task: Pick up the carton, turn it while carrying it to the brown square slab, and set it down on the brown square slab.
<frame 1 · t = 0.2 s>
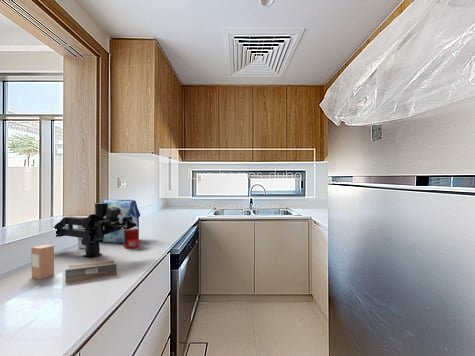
hand: (128, 226, 139), 17 cm above the worktop, tool horizontal, fingers open, 9 cm apart
canned food: (131, 247, 168), on the worktop
lunch bag: (119, 241, 185), on the worktop
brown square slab: (92, 271, 124), on the worktop
carton: (43, 276, 119), on the worktop
syrup box: (85, 247, 169), on the worktop
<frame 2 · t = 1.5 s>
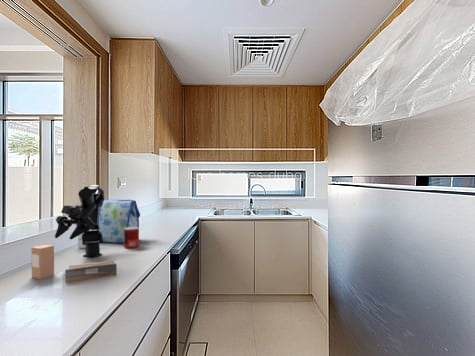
hand: (62, 238, 126), 14 cm above the worktop, tool tilted 45°, fingers open, 9 cm apart
nothing on the worktop moved.
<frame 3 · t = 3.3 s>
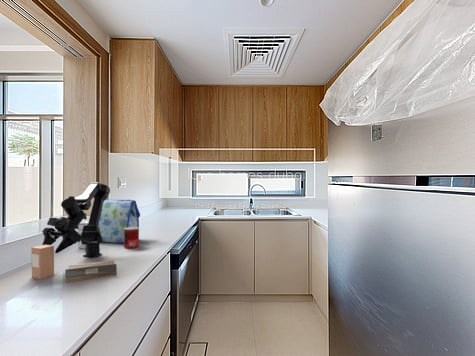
hand: (48, 251, 121), 9 cm above the worktop, tool tilted 45°, fingers open, 9 cm apart
nothing on the worktop moved.
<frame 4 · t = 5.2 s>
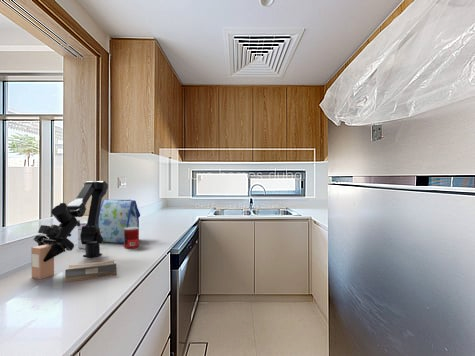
hand: (39, 260, 118), 7 cm above the worktop, tool tilted 45°, fingers closed on carton, 5 cm apart
carton: (43, 276, 119), on the worktop, touching gripper
everything else where it was.
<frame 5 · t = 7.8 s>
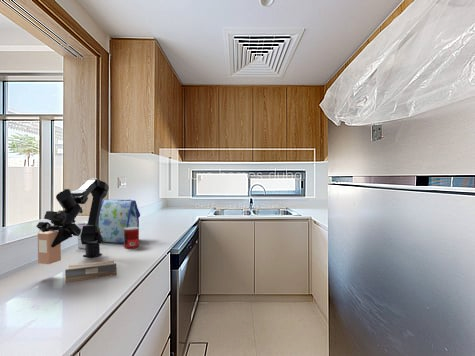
hand: (46, 246, 118), 12 cm above the worktop, tool tilted 45°, fingers closed on carton, 5 cm apart
carton: (49, 261, 119), point 6 cm above the worktop, touching gripper
everything else where it was.
when the fingers open (9 cm above the worktop, at t = 10.7 s): carton stays where it is, resting on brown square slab.
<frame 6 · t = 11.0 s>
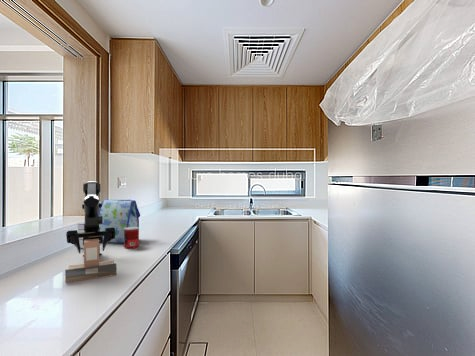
hand: (91, 251, 121), 9 cm above the worktop, tool tilted 45°, fingers open, 8 cm apart
carton: (91, 269, 123), point 1 cm above the worktop, touching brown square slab
everything else where it was.
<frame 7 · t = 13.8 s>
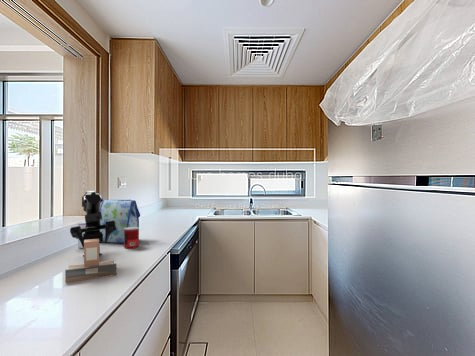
hand: (94, 245, 131), 10 cm above the worktop, tool tilted 40°, fingers open, 9 cm apart
nothing on the worktop moved.
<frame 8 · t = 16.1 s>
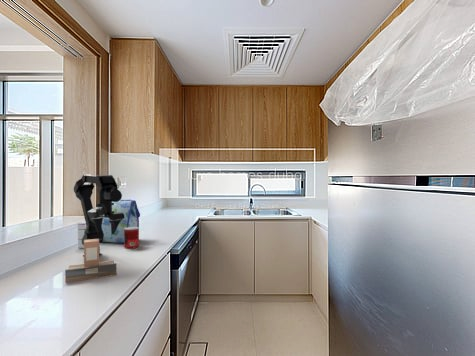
hand: (105, 233, 140), 13 cm above the worktop, tool pointing down, fingers open, 9 cm apart
nothing on the worktop moved.
at the end: carton inside the target area on the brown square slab (0.1 cm from its centre), point 1.5 cm above the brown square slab's base; carton tilted 0°; the gripper is holding nothing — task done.
